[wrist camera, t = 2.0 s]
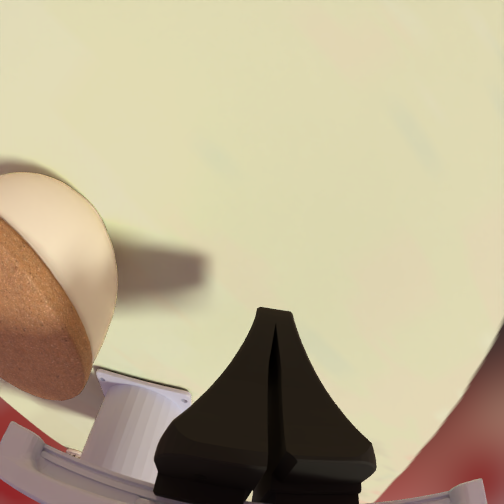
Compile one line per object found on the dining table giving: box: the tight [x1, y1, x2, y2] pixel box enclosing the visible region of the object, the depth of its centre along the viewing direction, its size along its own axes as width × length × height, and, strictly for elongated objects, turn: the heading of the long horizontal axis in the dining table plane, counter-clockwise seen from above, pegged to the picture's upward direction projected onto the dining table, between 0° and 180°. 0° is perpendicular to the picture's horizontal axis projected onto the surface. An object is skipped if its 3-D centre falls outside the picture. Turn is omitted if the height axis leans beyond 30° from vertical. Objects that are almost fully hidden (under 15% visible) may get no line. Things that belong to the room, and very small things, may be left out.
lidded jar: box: [0, 172, 118, 401], centre depth 13 cm, size 11×11×9 cm
